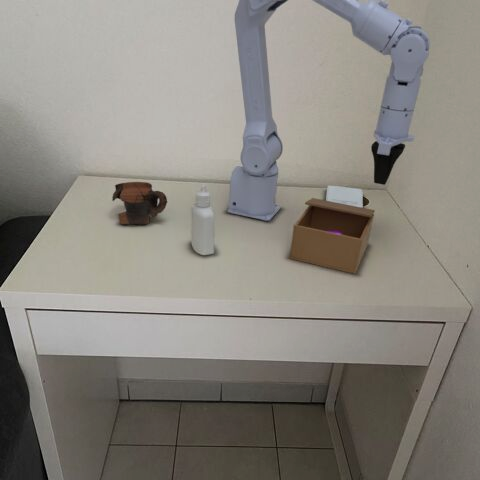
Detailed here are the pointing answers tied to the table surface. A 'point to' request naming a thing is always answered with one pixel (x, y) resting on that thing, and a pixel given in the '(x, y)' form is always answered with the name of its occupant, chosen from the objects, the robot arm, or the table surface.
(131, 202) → the pottery mug
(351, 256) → the carton
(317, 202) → the carton flap
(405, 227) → the table surface
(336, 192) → the hard drive
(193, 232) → the eye dropper bottle
